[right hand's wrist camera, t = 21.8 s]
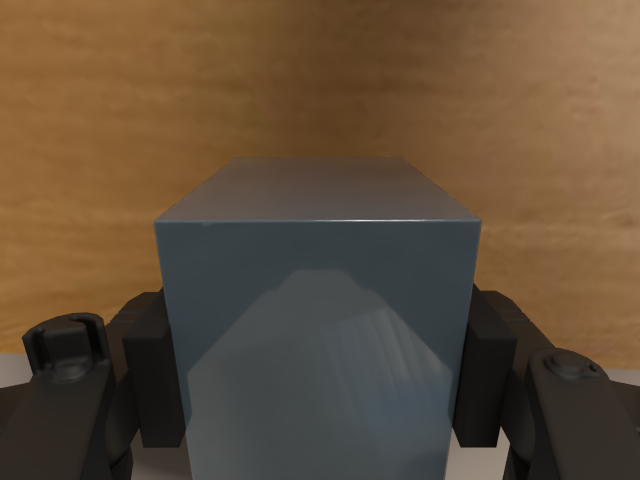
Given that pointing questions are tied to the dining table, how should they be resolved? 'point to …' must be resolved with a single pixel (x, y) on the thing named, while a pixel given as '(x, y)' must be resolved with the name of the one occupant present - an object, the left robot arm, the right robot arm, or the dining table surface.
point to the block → (318, 318)
